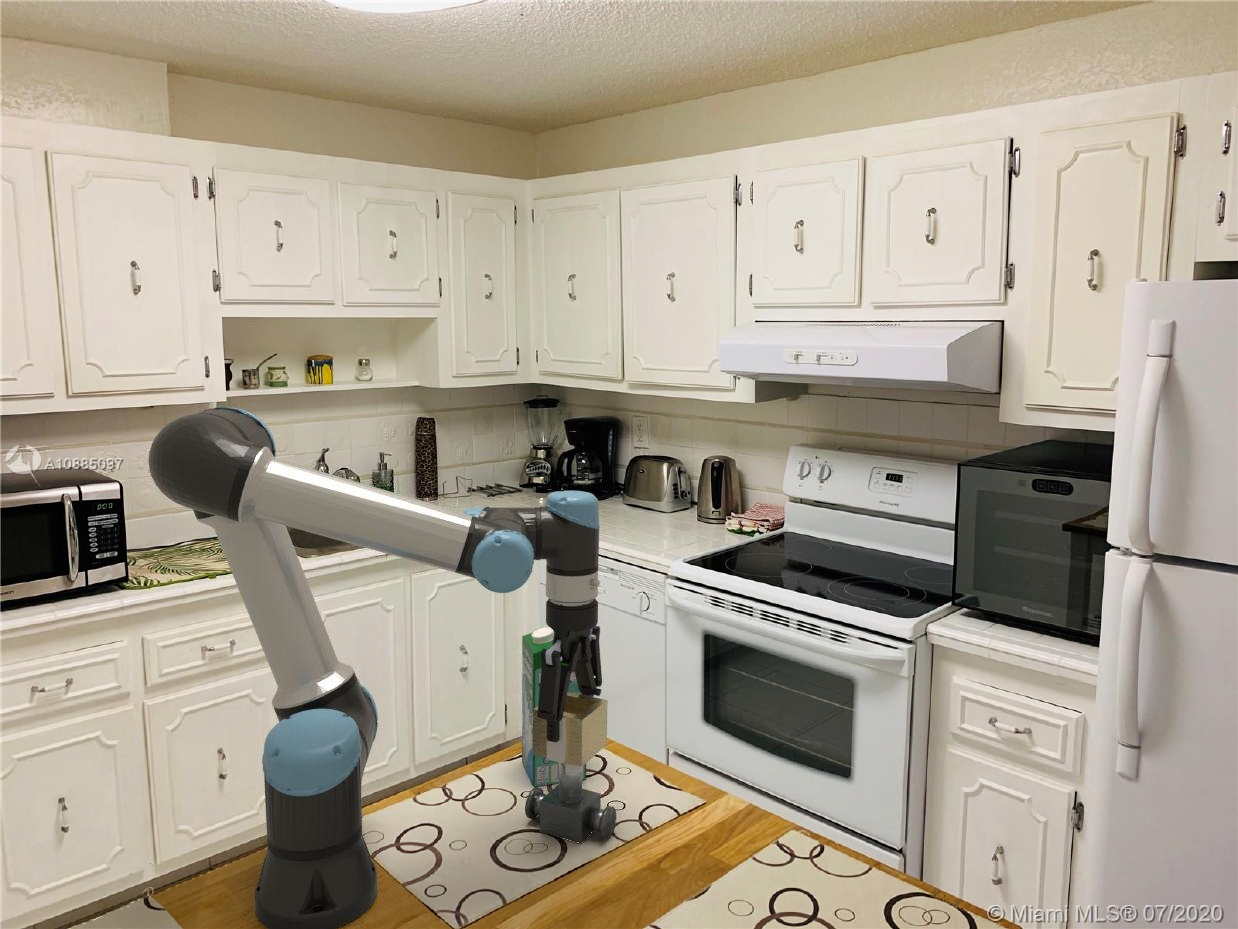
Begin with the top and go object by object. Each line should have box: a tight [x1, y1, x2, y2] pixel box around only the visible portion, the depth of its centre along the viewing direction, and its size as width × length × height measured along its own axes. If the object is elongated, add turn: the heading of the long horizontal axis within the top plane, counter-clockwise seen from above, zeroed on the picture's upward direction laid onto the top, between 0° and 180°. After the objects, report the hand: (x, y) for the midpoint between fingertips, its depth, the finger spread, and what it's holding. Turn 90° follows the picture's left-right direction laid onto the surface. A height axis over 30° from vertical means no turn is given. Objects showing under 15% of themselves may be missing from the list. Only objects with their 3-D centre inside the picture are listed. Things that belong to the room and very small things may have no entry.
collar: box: [533, 692, 608, 767], centre depth 135 cm, size 8×8×7 cm
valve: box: [524, 762, 617, 844], centre depth 136 cm, size 13×6×13 cm, turn 64°
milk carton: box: [521, 626, 587, 788], centre depth 153 cm, size 9×9×25 cm
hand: (570, 748), depth 135 cm, fingers closed on collar, 8 cm apart
